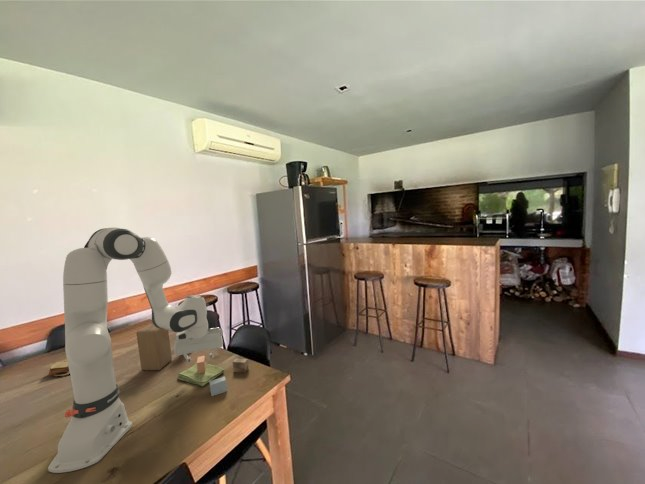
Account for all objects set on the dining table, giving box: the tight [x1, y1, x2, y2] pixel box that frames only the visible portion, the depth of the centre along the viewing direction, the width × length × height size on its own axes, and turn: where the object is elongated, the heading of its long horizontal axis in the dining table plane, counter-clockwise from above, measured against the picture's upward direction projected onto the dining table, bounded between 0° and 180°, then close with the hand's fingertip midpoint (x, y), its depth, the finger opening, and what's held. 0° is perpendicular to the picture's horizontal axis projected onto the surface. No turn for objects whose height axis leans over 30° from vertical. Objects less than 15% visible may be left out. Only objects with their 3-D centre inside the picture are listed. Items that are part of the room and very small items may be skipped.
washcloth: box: [177, 362, 225, 387], centre depth 126 cm, size 13×18×3 cm
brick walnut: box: [232, 358, 249, 373], centre depth 128 cm, size 6×3×5 cm, turn 78°
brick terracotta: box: [196, 355, 207, 374], centre depth 126 cm, size 6×3×5 cm, turn 21°
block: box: [136, 323, 173, 371], centre depth 137 cm, size 10×10×20 cm
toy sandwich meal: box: [48, 360, 70, 377], centre depth 138 cm, size 12×14×5 cm
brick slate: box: [208, 376, 228, 397], centre depth 113 cm, size 6×3×5 cm, turn 119°
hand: (200, 359), depth 125 cm, fingers open, 8 cm apart
